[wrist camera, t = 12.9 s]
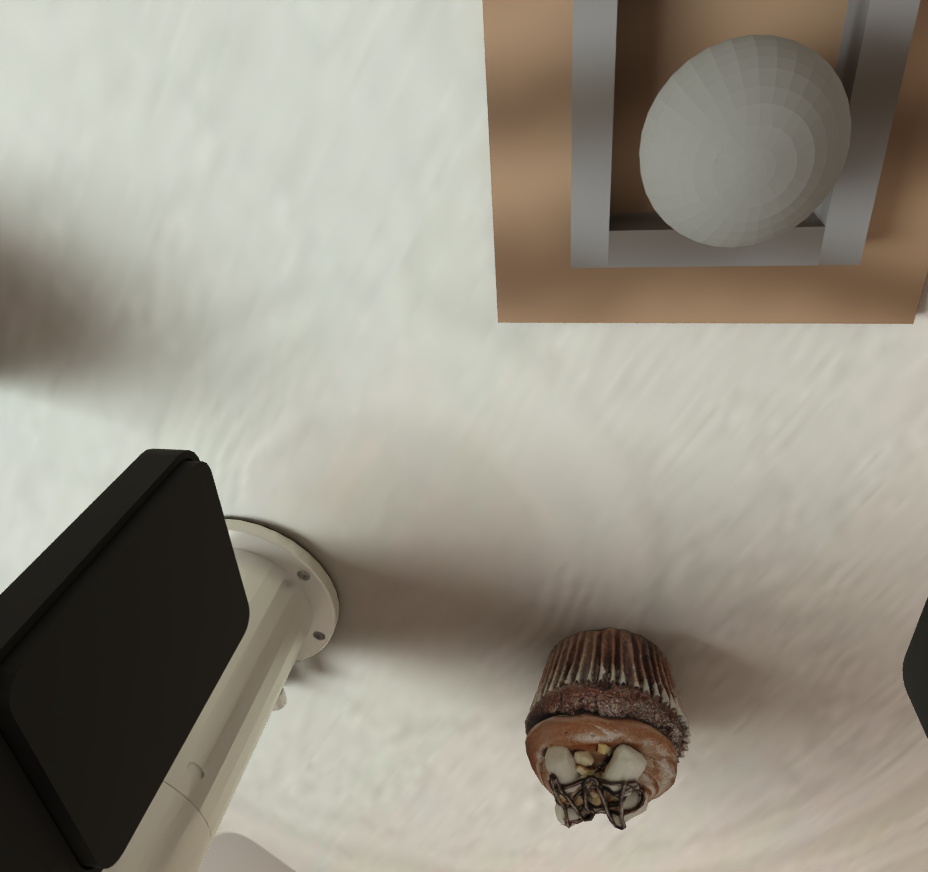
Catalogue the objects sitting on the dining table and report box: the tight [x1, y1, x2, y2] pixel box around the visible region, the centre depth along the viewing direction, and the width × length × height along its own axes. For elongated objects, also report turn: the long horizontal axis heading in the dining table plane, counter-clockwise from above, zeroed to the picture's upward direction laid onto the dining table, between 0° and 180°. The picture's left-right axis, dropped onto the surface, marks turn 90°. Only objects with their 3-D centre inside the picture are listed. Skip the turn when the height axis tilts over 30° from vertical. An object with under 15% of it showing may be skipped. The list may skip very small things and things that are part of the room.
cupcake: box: [525, 628, 691, 830], centre depth 43 cm, size 10×10×10 cm
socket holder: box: [482, 0, 928, 324], centre depth 27 cm, size 18×18×4 cm
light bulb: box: [639, 35, 851, 248], centre depth 23 cm, size 6×6×10 cm
